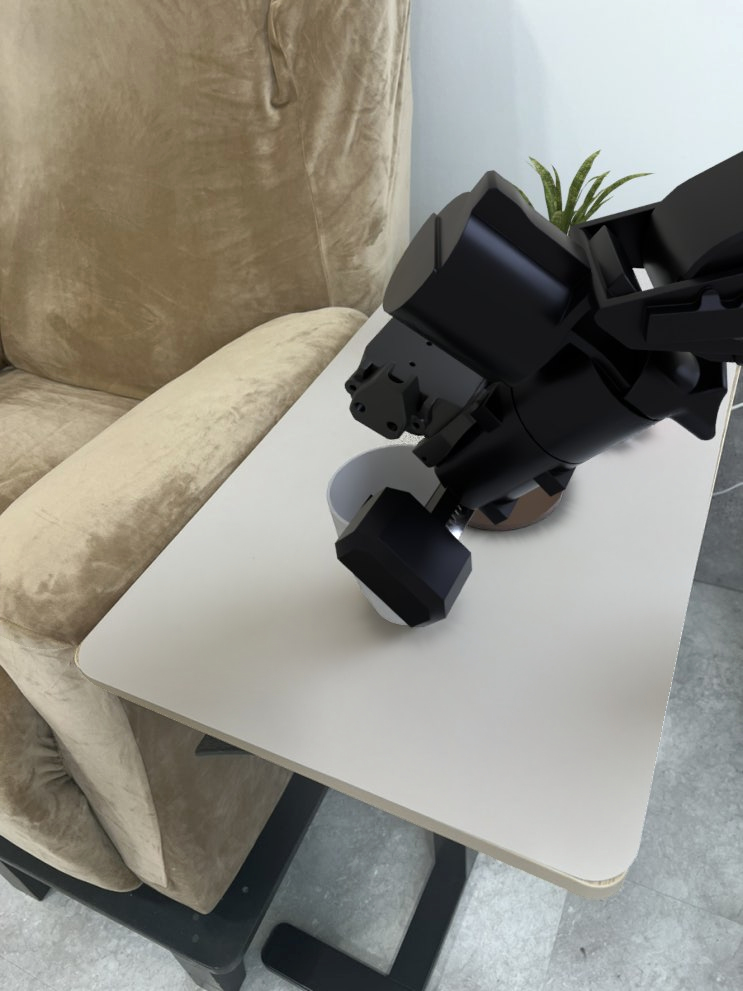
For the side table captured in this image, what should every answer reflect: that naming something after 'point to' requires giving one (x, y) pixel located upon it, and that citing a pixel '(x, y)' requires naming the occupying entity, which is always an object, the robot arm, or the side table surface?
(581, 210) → the house plant
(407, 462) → the cup
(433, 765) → the side table surface
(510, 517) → the coaster
